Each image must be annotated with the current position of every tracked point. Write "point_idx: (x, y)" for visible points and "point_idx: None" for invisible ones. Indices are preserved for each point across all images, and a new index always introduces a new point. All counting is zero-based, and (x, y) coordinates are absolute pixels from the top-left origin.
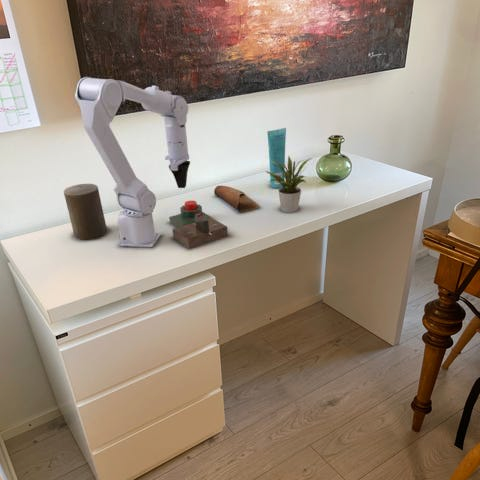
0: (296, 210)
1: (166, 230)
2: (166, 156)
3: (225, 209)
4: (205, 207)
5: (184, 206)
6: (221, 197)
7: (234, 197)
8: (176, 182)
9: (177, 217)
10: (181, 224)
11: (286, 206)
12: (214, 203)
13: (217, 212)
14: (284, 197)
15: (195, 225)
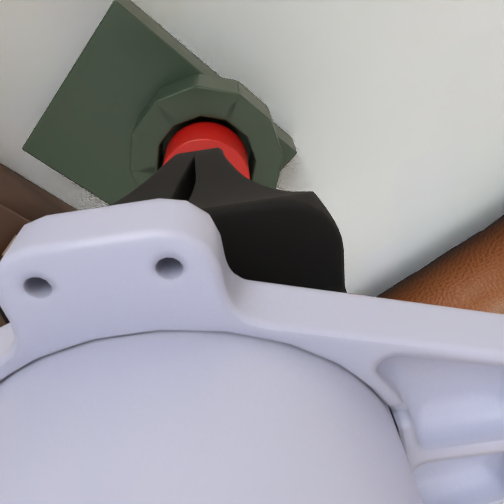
0: None
1: (3, 17)
2: (95, 280)
3: (376, 254)
4: (410, 145)
5: (221, 109)
6: (497, 225)
7: None
8: (156, 172)
9: (125, 71)
10: (29, 142)
11: None
12: (470, 176)
13: None
14: None
15: (5, 250)
